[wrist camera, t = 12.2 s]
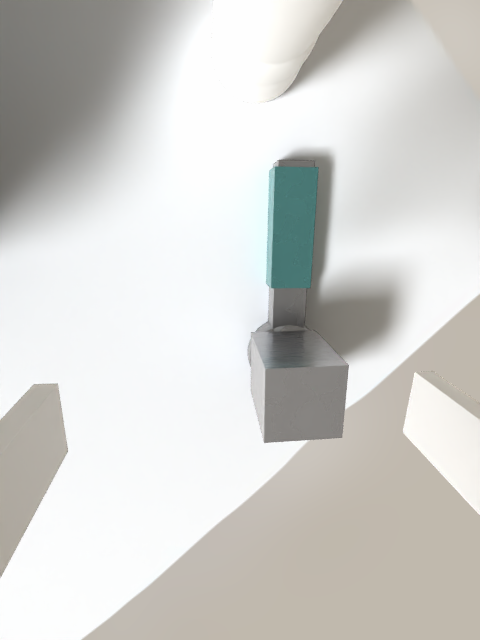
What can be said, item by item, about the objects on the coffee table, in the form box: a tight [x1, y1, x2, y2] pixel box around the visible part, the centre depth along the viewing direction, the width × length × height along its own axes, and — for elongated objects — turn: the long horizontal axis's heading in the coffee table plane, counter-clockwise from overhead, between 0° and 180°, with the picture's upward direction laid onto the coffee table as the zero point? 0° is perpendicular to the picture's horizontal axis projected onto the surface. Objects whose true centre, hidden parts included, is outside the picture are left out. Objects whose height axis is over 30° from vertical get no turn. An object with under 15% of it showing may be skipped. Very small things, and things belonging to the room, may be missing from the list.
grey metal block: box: [251, 330, 349, 443], centre depth 29 cm, size 6×6×8 cm
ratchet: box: [248, 160, 318, 366], centre depth 30 cm, size 21×7×6 cm, turn 179°
